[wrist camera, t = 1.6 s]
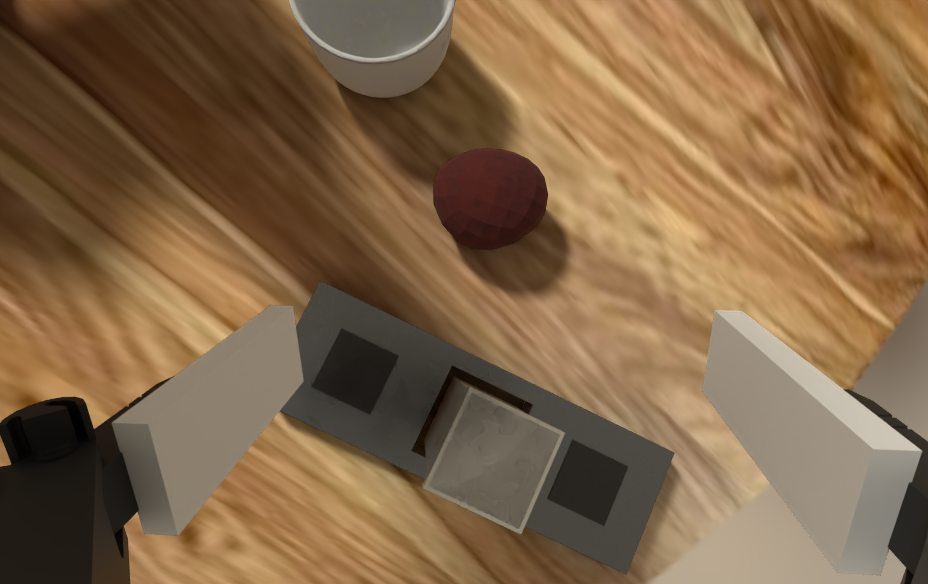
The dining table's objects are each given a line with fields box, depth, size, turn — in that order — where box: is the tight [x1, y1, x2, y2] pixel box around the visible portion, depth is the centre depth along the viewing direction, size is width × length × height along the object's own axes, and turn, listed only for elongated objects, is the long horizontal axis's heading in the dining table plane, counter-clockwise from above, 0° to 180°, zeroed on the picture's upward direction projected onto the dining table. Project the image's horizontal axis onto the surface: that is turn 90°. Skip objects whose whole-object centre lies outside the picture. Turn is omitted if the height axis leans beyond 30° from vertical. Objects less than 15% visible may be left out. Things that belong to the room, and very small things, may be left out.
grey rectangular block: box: [423, 377, 565, 534], centre depth 30 cm, size 5×5×12 cm
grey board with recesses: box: [280, 281, 674, 574], centre depth 35 cm, size 28×9×3 cm, turn 64°
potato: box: [433, 148, 548, 250], centre depth 35 cm, size 7×8×6 cm
